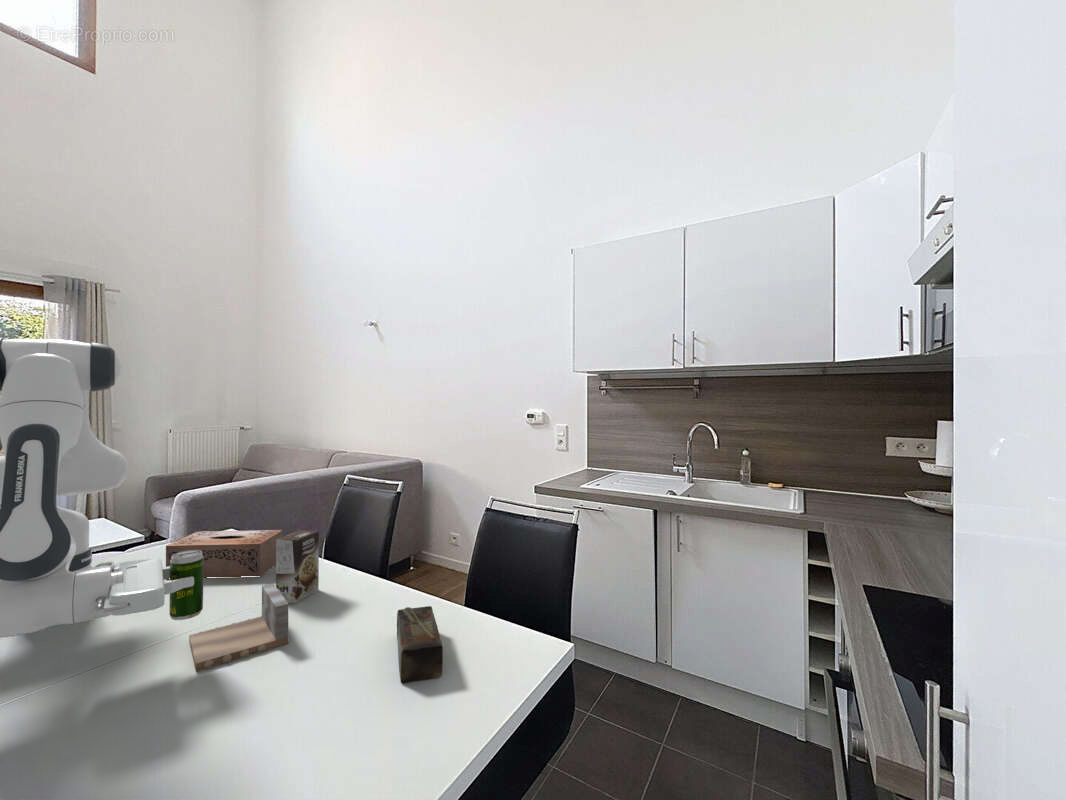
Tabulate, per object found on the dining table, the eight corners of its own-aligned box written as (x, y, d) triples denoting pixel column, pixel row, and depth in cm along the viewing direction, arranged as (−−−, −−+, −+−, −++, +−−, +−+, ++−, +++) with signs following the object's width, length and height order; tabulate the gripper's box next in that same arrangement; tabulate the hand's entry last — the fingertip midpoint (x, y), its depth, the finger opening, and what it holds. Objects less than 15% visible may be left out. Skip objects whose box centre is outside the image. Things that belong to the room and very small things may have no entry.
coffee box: (296, 604, 119) (296, 540, 119) (274, 601, 120) (274, 538, 120) (319, 589, 128) (320, 530, 128) (299, 587, 129) (299, 529, 129)
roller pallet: (189, 641, 100) (189, 601, 100) (273, 619, 111) (273, 583, 111) (196, 672, 89) (196, 627, 89) (288, 644, 100) (288, 604, 100)
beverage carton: (432, 630, 106) (432, 601, 106) (444, 679, 88) (444, 644, 88) (396, 636, 104) (396, 606, 104) (399, 687, 85) (400, 651, 85)
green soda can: (198, 606, 97) (199, 547, 97) (206, 614, 93) (207, 553, 93) (166, 614, 93) (167, 554, 93) (173, 623, 89) (173, 560, 89)
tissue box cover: (282, 561, 151) (282, 529, 151) (260, 578, 136) (260, 543, 136) (197, 563, 149) (197, 531, 149) (165, 580, 134) (165, 545, 134)
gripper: (93, 594, 77) (197, 574, 86) (102, 559, 93) (189, 546, 102) (93, 632, 77) (196, 609, 86) (102, 591, 93) (188, 575, 102)
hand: (192, 575), depth 94 cm, fingers closed on green soda can, 5 cm apart
